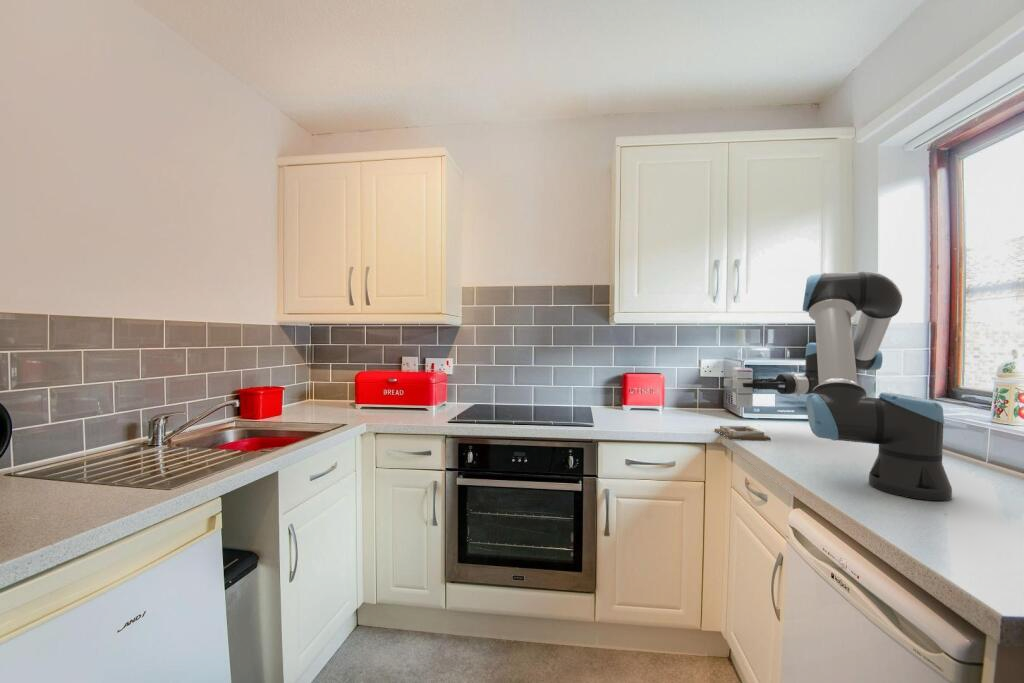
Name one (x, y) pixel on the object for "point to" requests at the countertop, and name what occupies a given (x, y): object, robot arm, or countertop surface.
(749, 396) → the syrup box
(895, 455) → the robot arm
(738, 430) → the board
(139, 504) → the countertop surface
